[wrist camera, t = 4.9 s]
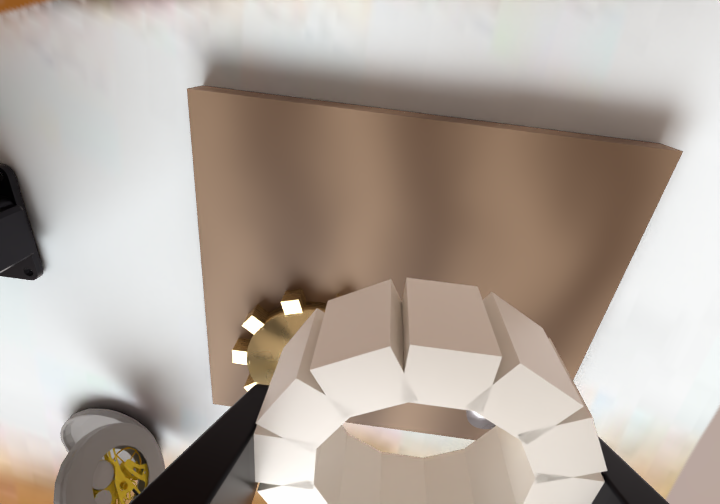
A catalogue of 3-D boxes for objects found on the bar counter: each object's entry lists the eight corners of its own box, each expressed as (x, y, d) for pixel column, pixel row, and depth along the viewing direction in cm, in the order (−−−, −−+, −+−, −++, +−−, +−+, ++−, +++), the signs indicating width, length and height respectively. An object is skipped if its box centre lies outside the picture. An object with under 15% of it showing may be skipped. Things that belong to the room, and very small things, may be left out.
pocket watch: (63, 444, 30) (-76, 612, 21) (84, 372, 26) (-74, 538, 17) (168, 483, 31) (78, 658, 22) (201, 420, 28) (110, 598, 19)
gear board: (222, 385, 26) (213, 403, 24) (202, 85, 18) (187, 88, 16) (532, 428, 25) (539, 448, 24) (660, 143, 17) (683, 151, 16)
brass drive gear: (240, 398, 24) (226, 430, 22) (236, 279, 20) (218, 305, 18) (381, 417, 24) (380, 452, 22) (403, 302, 20) (405, 330, 18)
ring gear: (278, 468, 11) (255, 550, 9) (280, 261, 8) (247, 323, 6) (514, 500, 11) (539, 590, 9) (606, 303, 8) (669, 378, 6)
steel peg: (455, 387, 22) (462, 426, 20) (463, 360, 21) (472, 397, 19) (491, 392, 22) (502, 431, 20) (500, 365, 21) (513, 403, 19)
